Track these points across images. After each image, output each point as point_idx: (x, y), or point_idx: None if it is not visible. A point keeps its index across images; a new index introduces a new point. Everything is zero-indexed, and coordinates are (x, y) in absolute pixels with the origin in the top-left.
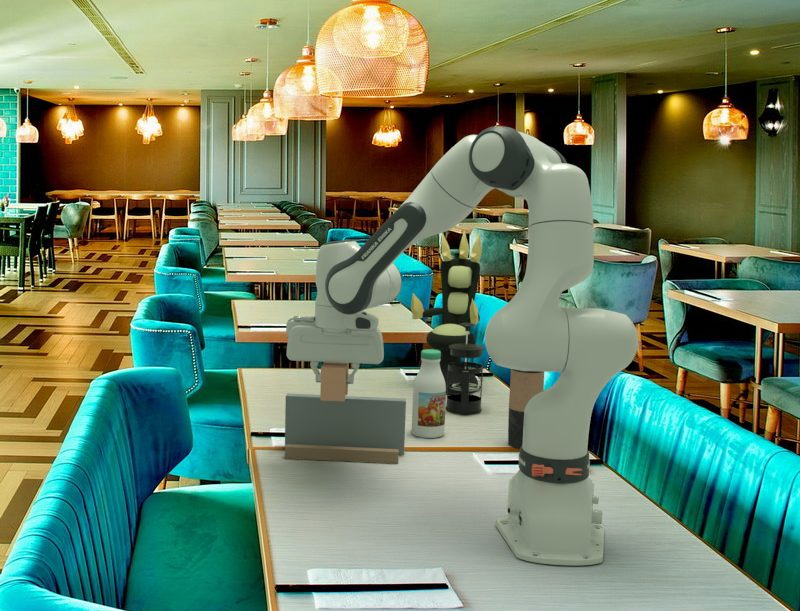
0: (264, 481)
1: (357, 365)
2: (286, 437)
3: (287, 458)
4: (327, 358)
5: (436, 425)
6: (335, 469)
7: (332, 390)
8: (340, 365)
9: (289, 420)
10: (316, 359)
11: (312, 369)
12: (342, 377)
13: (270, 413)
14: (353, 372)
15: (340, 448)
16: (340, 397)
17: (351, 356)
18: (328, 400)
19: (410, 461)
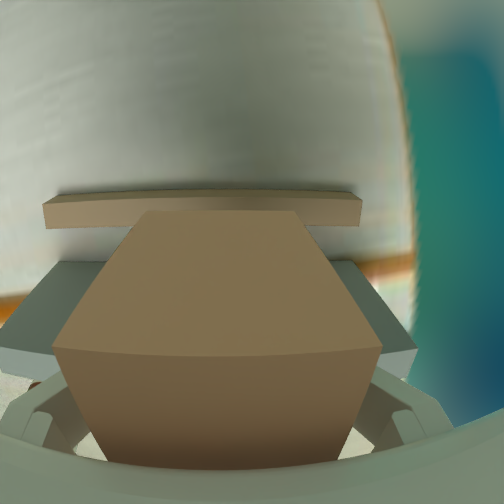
0: (375, 20)
1: (7, 424)
2: (359, 275)
3: (343, 192)
4: (316, 496)
5: (32, 384)
6: (204, 115)
7: (218, 234)
8: (155, 447)
9: (371, 301)
10: (435, 450)
11: (411, 387)
12: (113, 283)
13: (362, 437)
14: (56, 386)
15: (198, 207)
16: (165, 218)
17: (3, 496)
18: (243, 210)
19: (36, 219)
